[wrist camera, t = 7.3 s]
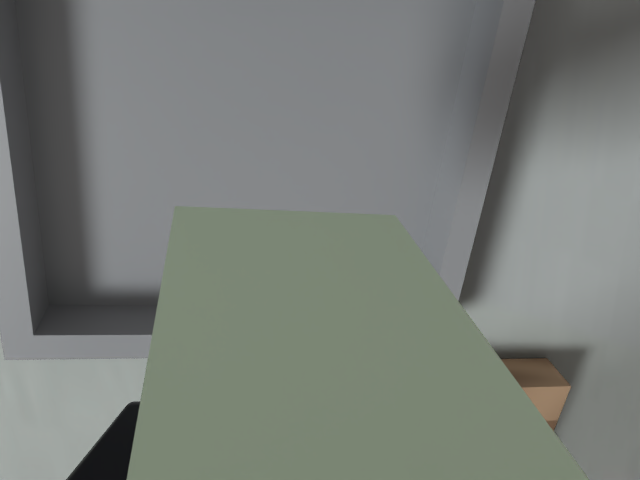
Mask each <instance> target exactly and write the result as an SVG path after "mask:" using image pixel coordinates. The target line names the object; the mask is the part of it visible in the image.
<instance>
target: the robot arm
mask: <svg viewBox="0 0 640 480" xmlns="http://www.w3.org/2000/svg"><path fill="white" fill-rule="evenodd" d="M139 406H140V402H131V403H129V404H128V405H127V406H126V407H125V408H124V409H123V411H122V412H121V413H120V414H119V416H118V417H117V418H116V419H115V420H114V422H113V423H112V424H111V425H110V427H109V428H108V429H107V430H106V432H105V433H104V434H103V435H102V436H101V438H100V439H99V440H98V441H97V443H96V444H95V445H94V446H93V447H92V449H91V450H90V451H89V452H88V454H87V455H86V456H85V457H84V458H83V460H82V461H81V462H80V463H79V465H78V466H77V467H76V468H75V470H74V471H73V472H72V473H71V474H70V476H69V477H68V478H67V479H66V480H127V474H128V469H129V463H130V457H131V452H132V446H133V440H134V435H135V429H136V423H137V418H138V412H139Z"/></svg>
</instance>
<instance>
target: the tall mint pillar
mask: <svg viewBox="0 0 640 480" xmlns="http://www.w3.org/2000/svg"><path fill="white" fill-rule="evenodd" d="M127 480H589V479H588V478H587V476H586V475H585V474H584V472H583V471H582V469H581V468H580V467H579V465H578V464H577V463H576V461H575V460H574V459H573V457H572V456H571V454H570V453H569V452H568V450H567V449H566V448H565V446H564V445H563V443H562V442H561V441H560V439H559V438H558V437H557V435H556V434H555V433H554V431H553V430H552V428H551V427H550V426H549V424H548V423H547V422H546V420H545V419H544V418H543V416H542V415H541V413H540V412H539V411H538V409H537V408H536V407H535V405H534V404H533V403H532V401H531V400H530V398H529V397H528V396H527V394H526V393H525V392H524V390H523V389H522V388H521V386H520V385H519V383H518V382H517V381H516V379H515V378H514V377H513V375H512V374H511V373H510V371H509V370H508V368H507V367H506V366H505V364H504V363H503V362H502V360H501V359H500V358H499V356H498V355H497V353H496V352H495V351H494V349H493V348H492V347H491V345H490V344H489V343H488V341H487V340H486V338H485V337H484V336H483V334H482V333H481V332H480V330H479V329H478V328H477V326H476V325H475V323H474V322H473V321H472V319H471V318H470V317H469V315H468V314H467V313H466V311H465V310H464V308H463V307H462V306H461V304H460V303H459V302H458V300H457V299H456V298H455V296H454V295H453V293H452V292H451V291H450V289H449V288H448V287H447V285H446V284H445V282H444V281H443V280H442V278H441V277H440V276H439V274H438V273H437V272H436V270H435V269H434V267H433V266H432V265H431V263H430V262H429V261H428V259H427V258H426V257H425V255H424V254H423V252H422V251H421V250H420V248H419V247H418V246H417V244H416V243H415V242H414V240H413V239H412V237H411V236H410V235H409V233H408V232H407V231H406V229H405V228H404V227H403V225H402V224H401V222H400V221H399V220H398V218H397V217H396V216H395V215H379V214H355V213H331V212H307V211H282V210H258V209H234V208H209V207H185V206H175V208H174V214H173V220H172V225H171V231H170V237H169V242H168V248H167V254H166V259H165V265H164V271H163V276H162V282H161V288H160V293H159V299H158V305H157V310H156V316H155V322H154V327H153V333H152V338H151V344H150V350H149V355H148V361H147V367H146V372H145V378H144V384H143V389H142V395H141V401H140V406H139V412H138V418H137V423H136V429H135V435H134V440H133V446H132V452H131V457H130V463H129V469H128V474H127Z"/></svg>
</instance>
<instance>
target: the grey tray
mask: <svg viewBox="0 0 640 480" xmlns="http://www.w3.org/2000/svg"><path fill="white" fill-rule="evenodd" d="M535 1H536V0H0V335H1V341H2V347H3V353H4V359H5V360H41V359H117V358H148V355H149V350H150V344H151V338H152V333H153V327H154V322H155V316H156V310H157V305H158V299H159V293H160V288H161V282H162V276H163V271H164V265H165V259H166V254H167V248H168V242H169V237H170V231H171V225H172V220H173V214H174V208H175V206H185V207H209V208H234V209H258V210H282V211H307V212H331V213H355V214H379V215H395V216H396V217H397V218H398V220H399V221H400V222H401V224H402V225H403V227H404V228H405V229H406V231H407V232H408V233H409V235H410V236H411V237H412V239H413V240H414V242H415V243H416V244H417V246H418V247H419V248H420V250H421V251H422V252H423V254H424V255H425V257H426V258H427V259H428V261H429V262H430V263H431V265H432V266H433V267H434V269H435V270H436V272H437V273H438V274H439V276H440V277H441V278H442V280H443V281H444V282H445V284H446V285H447V287H448V288H449V289H450V291H451V292H452V293H453V295H454V296H455V298H456V299H457V300H458V301H459V297H460V293H461V289H462V285H463V282H464V278H465V274H466V270H467V266H468V262H469V258H470V254H471V250H472V247H473V243H474V239H475V235H476V231H477V227H478V223H479V219H480V215H481V211H482V208H483V204H484V200H485V196H486V192H487V188H488V184H489V180H490V176H491V173H492V169H493V165H494V161H495V157H496V153H497V149H498V145H499V141H500V137H501V134H502V130H503V126H504V122H505V118H506V114H507V110H508V106H509V102H510V99H511V95H512V91H513V87H514V83H515V79H516V75H517V71H518V67H519V63H520V60H521V56H522V52H523V48H524V44H525V40H526V36H527V32H528V28H529V25H530V21H531V17H532V13H533V9H534V5H535Z"/></svg>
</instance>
